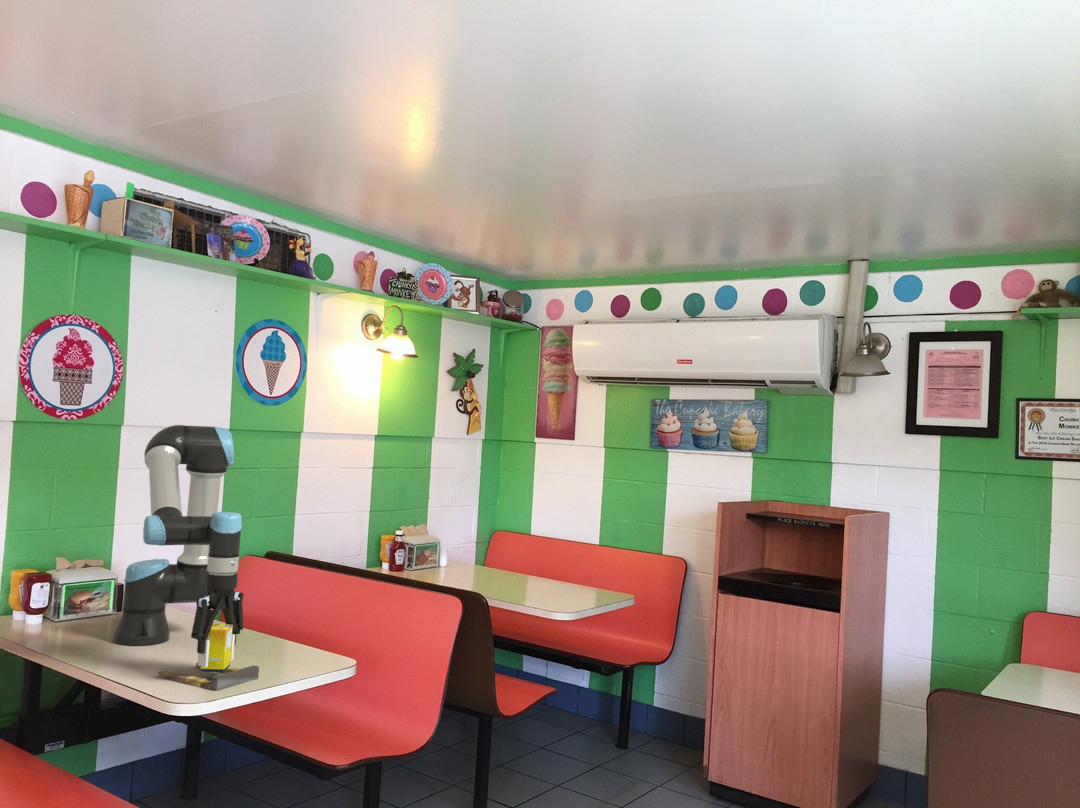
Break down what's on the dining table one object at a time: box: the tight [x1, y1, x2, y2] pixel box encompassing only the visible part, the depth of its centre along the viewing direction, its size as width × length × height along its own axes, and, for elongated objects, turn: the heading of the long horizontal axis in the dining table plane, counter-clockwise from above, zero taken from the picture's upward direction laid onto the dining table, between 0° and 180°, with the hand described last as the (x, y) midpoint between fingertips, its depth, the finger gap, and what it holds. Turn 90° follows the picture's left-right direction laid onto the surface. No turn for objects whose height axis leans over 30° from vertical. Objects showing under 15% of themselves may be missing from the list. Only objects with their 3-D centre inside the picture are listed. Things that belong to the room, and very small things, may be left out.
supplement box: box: [199, 623, 233, 673], centre depth 219 cm, size 6×6×11 cm
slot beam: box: [158, 662, 260, 692], centre depth 219 cm, size 20×14×3 cm
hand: (215, 662), depth 218 cm, fingers closed on supplement box, 8 cm apart
